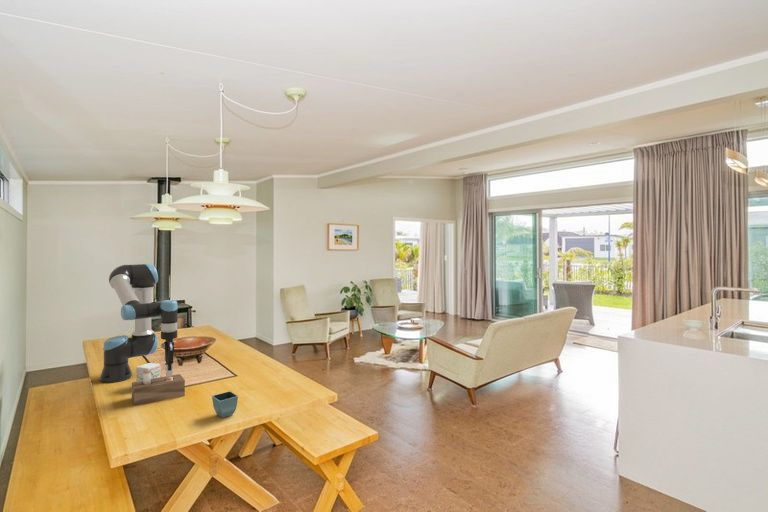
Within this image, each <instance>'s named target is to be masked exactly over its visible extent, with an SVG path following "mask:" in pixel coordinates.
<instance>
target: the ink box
mask: <svg viewBox="0 0 768 512" xmlns="http://www.w3.org/2000/svg"><path fill="white" fill-rule="evenodd" d="M135 367H136V368H135V373H136V374H135V377H136V378H135V382H136V381H142V380H143V372H144V371H147V370H150V371H151V379H153V378H159V377H162V376H161V375H162V370H161V369H162V366H161V364H159V363H156V362H155V363H154V362H148V363H145V364H141V365H137V366H135Z"/></svg>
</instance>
